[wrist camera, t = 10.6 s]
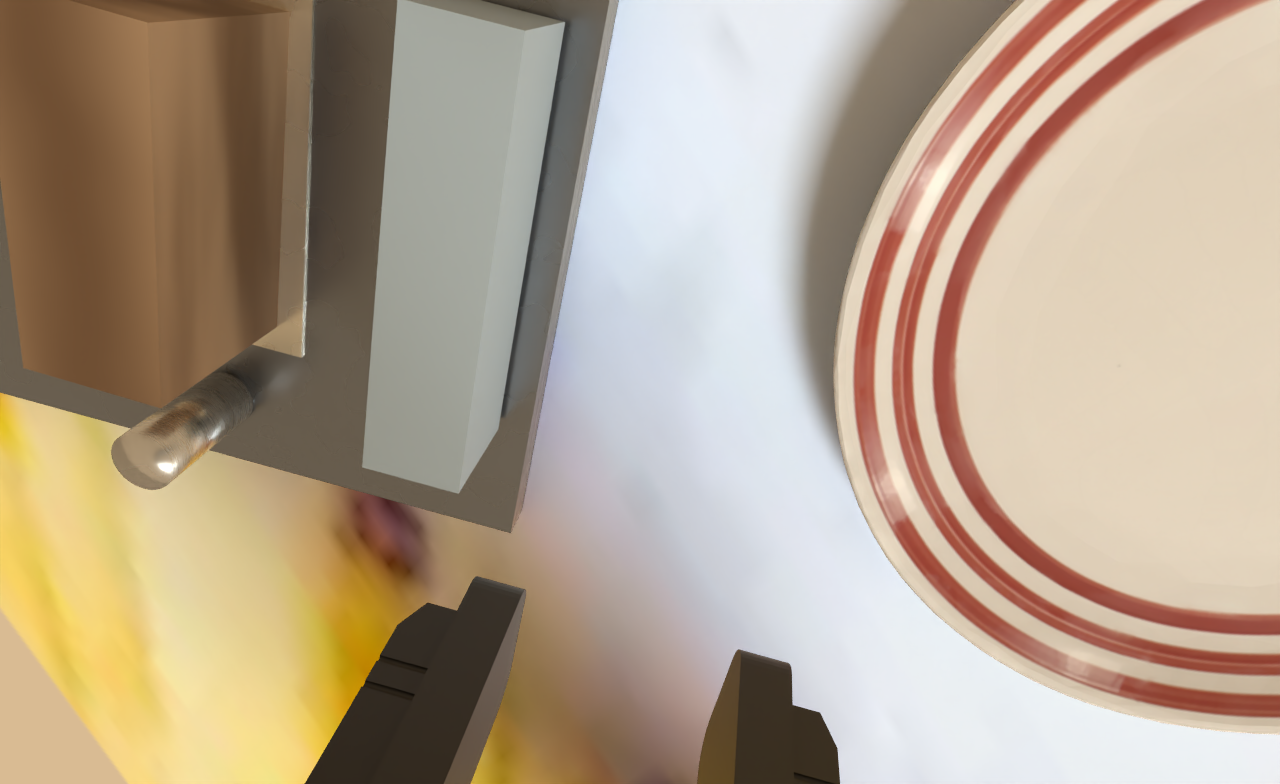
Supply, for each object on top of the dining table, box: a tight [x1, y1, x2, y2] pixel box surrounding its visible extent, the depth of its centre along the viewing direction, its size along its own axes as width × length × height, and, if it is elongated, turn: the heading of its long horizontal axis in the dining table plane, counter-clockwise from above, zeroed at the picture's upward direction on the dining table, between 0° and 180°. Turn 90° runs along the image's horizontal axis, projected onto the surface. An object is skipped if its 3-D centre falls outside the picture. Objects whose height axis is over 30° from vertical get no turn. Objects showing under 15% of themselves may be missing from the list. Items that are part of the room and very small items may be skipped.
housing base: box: [0, 0, 619, 533], centre depth 25 cm, size 22×22×6 cm
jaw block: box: [0, 0, 290, 408], centre depth 23 cm, size 4×10×6 cm, turn 166°
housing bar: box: [362, 0, 565, 494], centre depth 24 cm, size 3×13×4 cm, turn 167°
